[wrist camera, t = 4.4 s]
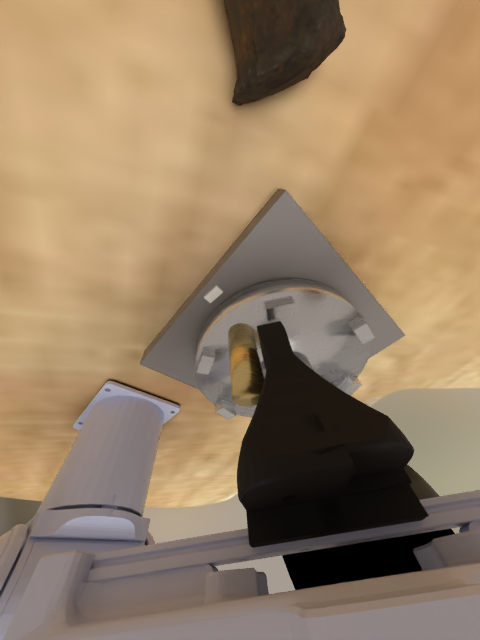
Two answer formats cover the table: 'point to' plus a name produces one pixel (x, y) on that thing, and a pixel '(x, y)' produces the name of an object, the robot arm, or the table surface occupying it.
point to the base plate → (261, 266)
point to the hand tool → (280, 42)
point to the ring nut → (303, 333)
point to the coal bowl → (363, 553)
